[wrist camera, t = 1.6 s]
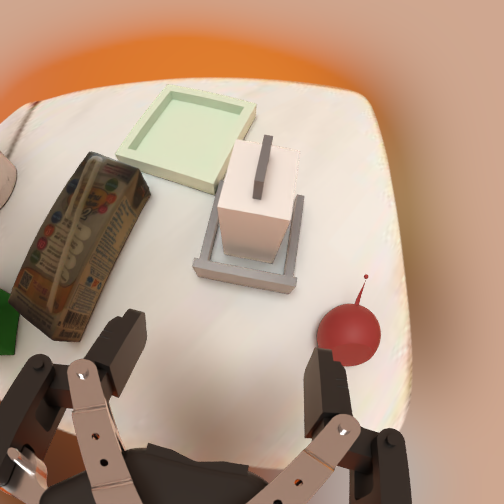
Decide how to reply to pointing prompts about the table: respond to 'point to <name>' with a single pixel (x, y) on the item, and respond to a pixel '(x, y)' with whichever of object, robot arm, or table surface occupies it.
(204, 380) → the table surface
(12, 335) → the milk carton
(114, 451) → the robot arm
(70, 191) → the beverage carton
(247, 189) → the white tall block
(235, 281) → the bay
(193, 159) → the tray
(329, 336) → the fruit
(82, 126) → the table surface
